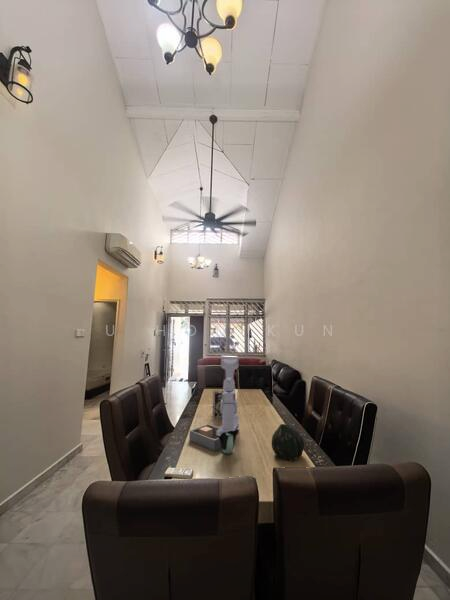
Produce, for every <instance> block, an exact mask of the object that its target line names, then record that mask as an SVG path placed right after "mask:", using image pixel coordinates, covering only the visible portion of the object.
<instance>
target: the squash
mask: <svg viewBox="0 0 450 600" xmlns="http://www.w3.org/2000/svg"><path fill="white" fill-rule="evenodd" d="M271 448H272V450H273V452H274V455H276V456H277V457H278V458H280V459H281V458H282V460H284V461H288V460H290V461H291V462H292V461H295V460H296V459H298V458H300V457H302V455H303V452H304V449H305V441H304V439H303V436H302V435H301V434H300V432H298V430H297V429H296V428H294V427H292V426H290V425H288V424H285V423H281V424H280V425H279V426H278V427H277V428H276V430H275V431H274V433H273V434H272V437H271Z"/></svg>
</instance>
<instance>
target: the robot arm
mask: <svg viewBox="0 0 450 600" xmlns="http://www.w3.org/2000/svg"><path fill="white" fill-rule="evenodd" d="M220 367H221V368H222V369H223V370H224V371H225V379H223V387H222V388H223V389H222V391H223V393H222V400H221V407H220V413H221V414H222V418H221V419H222V421H221V422H222V424H221V425H222V426H221V427H219V428H220V429H219V430H217V431H216V435H218V437H219V439H220V442H221V447H222V448H221V449H223V450H226V447H227V440H228V437H229V436H228V435H226V432H228V434H232V435H233V447H234V446H235V441H236V438H237V435H238V433H239V431H240V423H239V416H238V401H237V398H236V388H235V387H236V385H235V384H236V382H235V380H234V371H235V370H237V369H238V368H239V356H238V355H221V356H220Z"/></svg>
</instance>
